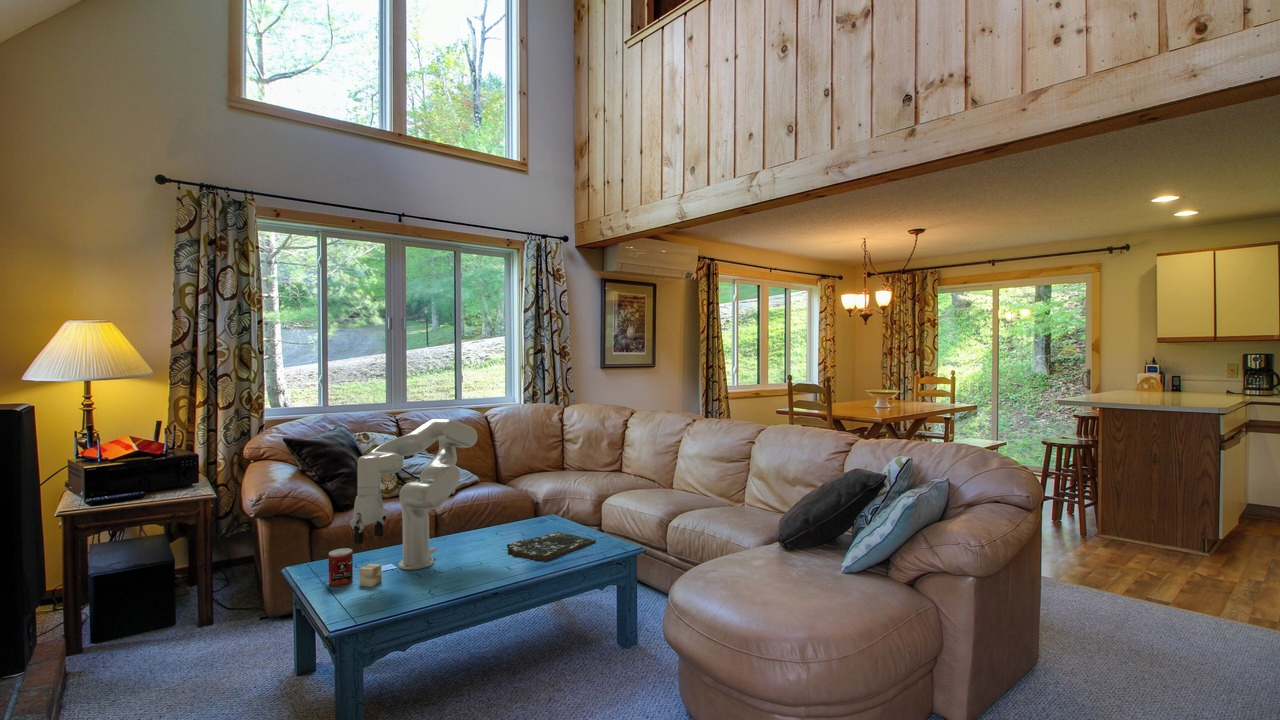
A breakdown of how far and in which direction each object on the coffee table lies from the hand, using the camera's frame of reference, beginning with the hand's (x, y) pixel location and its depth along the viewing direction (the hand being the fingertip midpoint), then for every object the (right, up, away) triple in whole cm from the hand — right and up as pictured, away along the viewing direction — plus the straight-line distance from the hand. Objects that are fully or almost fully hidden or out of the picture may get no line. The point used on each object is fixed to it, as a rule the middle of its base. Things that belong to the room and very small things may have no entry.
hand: (369, 539), depth 213 cm
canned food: (-11, -16, +2) cm, 19 cm away
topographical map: (+56, -16, +40) cm, 71 cm away
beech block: (0, -16, 0) cm, 16 cm away
